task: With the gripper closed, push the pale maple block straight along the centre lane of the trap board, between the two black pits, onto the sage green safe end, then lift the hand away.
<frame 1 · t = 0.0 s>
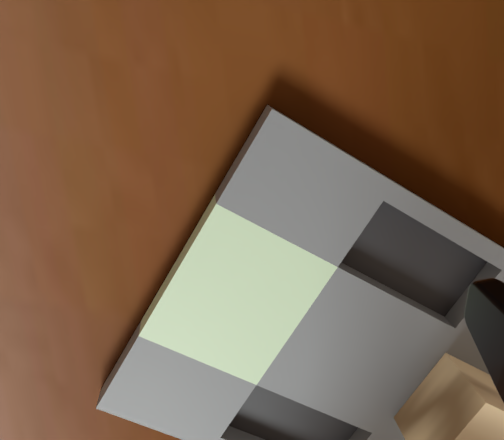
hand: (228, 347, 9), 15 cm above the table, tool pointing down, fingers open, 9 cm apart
maple block: (451, 400, 28), point 1 cm above the table, touching trap board
trap board: (348, 340, 28), on the table
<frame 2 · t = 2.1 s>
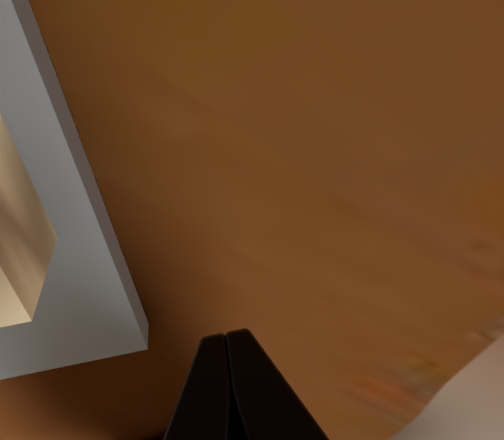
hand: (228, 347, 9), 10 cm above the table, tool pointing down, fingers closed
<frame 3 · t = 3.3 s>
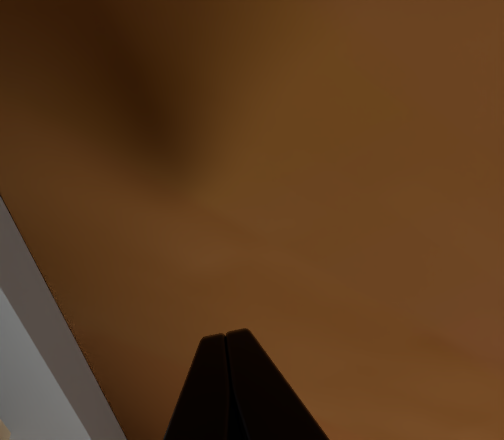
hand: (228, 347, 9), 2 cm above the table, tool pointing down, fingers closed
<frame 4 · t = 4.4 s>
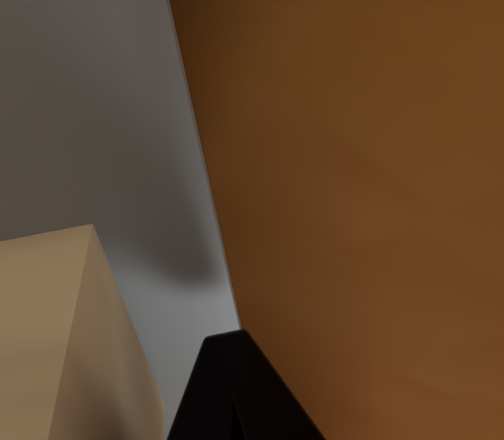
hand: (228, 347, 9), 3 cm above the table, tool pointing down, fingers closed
maple block: (4, 353, 9), point 2 cm above the table, touching gripper, trap board
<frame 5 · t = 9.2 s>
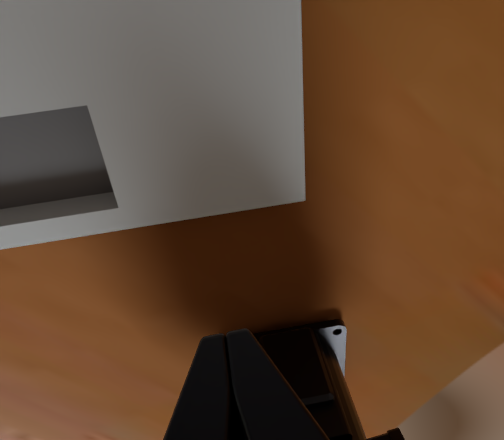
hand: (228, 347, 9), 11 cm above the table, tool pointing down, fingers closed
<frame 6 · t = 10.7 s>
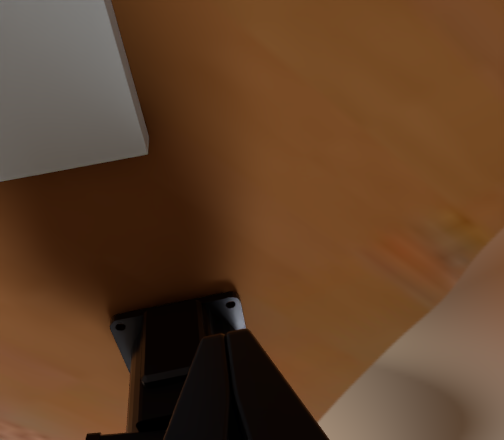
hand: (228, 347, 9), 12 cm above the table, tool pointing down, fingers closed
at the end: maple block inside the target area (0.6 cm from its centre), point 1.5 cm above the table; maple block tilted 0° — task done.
